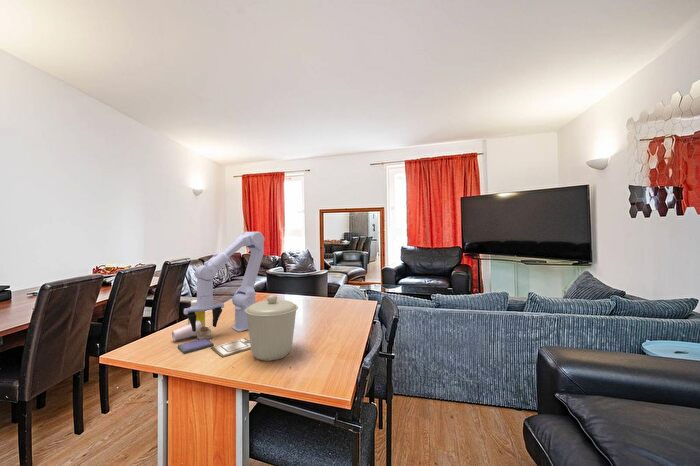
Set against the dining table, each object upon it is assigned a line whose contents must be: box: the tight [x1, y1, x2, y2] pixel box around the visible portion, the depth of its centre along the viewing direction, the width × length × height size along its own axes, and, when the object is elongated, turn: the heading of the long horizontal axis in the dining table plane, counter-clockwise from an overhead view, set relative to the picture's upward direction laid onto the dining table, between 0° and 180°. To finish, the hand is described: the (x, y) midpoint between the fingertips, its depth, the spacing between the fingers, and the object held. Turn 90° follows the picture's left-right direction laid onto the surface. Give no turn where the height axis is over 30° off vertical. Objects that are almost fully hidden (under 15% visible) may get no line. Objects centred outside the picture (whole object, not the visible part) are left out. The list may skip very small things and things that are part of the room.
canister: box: [245, 294, 299, 361], centre depth 97 cm, size 18×18×21 cm
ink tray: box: [177, 338, 214, 355], centre depth 103 cm, size 10×8×1 cm
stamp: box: [196, 326, 213, 341], centre depth 111 cm, size 4×4×5 cm
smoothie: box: [171, 320, 212, 341], centre depth 113 cm, size 6×6×14 cm
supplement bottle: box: [187, 299, 206, 327], centre depth 121 cm, size 7×7×13 cm
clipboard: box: [210, 337, 251, 359], centre depth 103 cm, size 14×11×1 cm
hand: (204, 328), depth 111 cm, fingers open, 7 cm apart
